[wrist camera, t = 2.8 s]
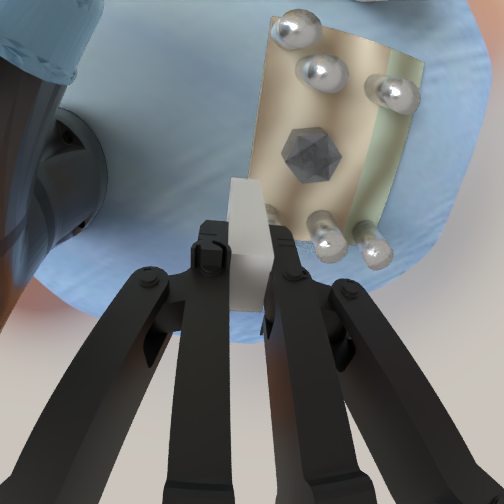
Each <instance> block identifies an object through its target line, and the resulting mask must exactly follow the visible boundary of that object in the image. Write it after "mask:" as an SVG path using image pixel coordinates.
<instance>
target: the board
mask: <svg viewBox="0 0 504 504" xmlns="http://www.w3.org/2000/svg"><path fill="white" fill-rule="evenodd" d="M280 18H281V17H275V16H273V17H272V18H271V24H270V30H269V36H268V43H267V49H266V56H265V62H264V69H263V76H262V82H261V89H260V96H259V103H258V109H257V116H256V123H255V130H254V137H253V145H252V152H251V159H250V166H249V173H248V179H256V180H260V182H261V187H262V193H263V198H264V203H265V204H270V205H272V206H274V207H275V208H276V210H277V211H278V214H279V218H280V222H281V226H286V227H287V228H288V229H289V230H290V231H291V232H292V235H293V238H294V240H299V241H311V242H312V240H311V237H310V235H309V232H308V229H307V227H306V221H307V218H308V217H309V215H310V214H311V213H313V212H315V211H317V210H326V211H328V212H330V213H331V215H332V216H333V218H334V220H335V222H336V224H337V225H338V227H339V229H340V231H341V233H342V235H343V237H344V239H345V240H346V242H347V245H356V243H355V242H354V240H353V238H352V235H351V232H352V229H353V227H354V226H355V225H356V224H357V223H358V222H360V221H362V220H370V221H372V222H373V223H374V224H375V226H376V227H377V225H378V223H379V220H380V217H381V215H382V212H383V209H384V207H385V204H386V201H387V198H388V195H389V192H390V190H391V187H392V184H393V181H394V178H395V175H396V172H397V168H398V165H399V162H400V159H401V156H402V152H403V149H404V146H405V142H406V139H407V135H408V131H409V128H410V124H411V120H412V116H413V113H414V112H413V113H411V114H408V115H403V114H400V113H398V112H395V111H393V110H391V109H388V108H386V107H383V106H381V105H378V104H376V103H373V102H371V101H370V100H369V99H368V98H367V97H366V95H365V92H364V83H365V81H366V79H367V78H368V77H369V76H370V75H372V74H383V75H388V76H393V77H398V78H403V79H408V80H410V81H412V82H413V83H414V84H415V85H416V86H417V87H418V89H419V87H420V83H421V78H422V73H423V68H424V62H422V61H420V60H418V59H416V58H413V57H411V56H409V55H407V54H404V53H402V52H399V51H397V50H395V49H392V48H390V47H387V46H384V45H382V44H379V43H376V42H373V41H371V40H368V39H365V38H362V37H359V36H356V35H352V34H349V33H346V32H342V31H339V30H335V29H332V28H328V27H324V26H322V36H321V38H320V39H319V41H318V42H317V43H315V44H314V45H312V46H309V47H304V48H299V49H295V50H284V49H281V48H279V47H278V46H277V45H275V44H274V42H273V41H272V39H271V34H270V33H271V28H272V26H273V25H274V24H275V23H276V22H277V21H278V20H279V19H280ZM319 54H332V55H335V56H337V57H339V58H340V59H342V60H343V61H344V62H345V64H346V65H347V68H348V71H349V79H348V82H347V84H346V86H345V87H344V88H343V89H342V90H340V91H338V92H336V93H325V92H322V91H319V90H316V89H314V88H311V87H308V86H305V85H303V84H302V83H301V82H300V81H299V80H298V79H297V77H296V75H295V66H296V63H297V62H298V60H299V59H301V58H302V57H304V56H307V55H319ZM312 127H320V128H322V129H323V130H324V131H325V132H326V133H328V135H329V136H330V138H331V139H332V141H333V143H334V144H335V146H336V147H337V149H338V150H339V152H340V154H341V155H342V159H341V160H340V162H339V164H338V166H337V168H336V169H335V171H334V173H333V175H332V177H331V179H330V180H329V181H324V182H315V183H306V184H301V183H300V182H299V180H298V179H297V178H296V176H295V175H294V174H293V172H292V171H291V170H290V168H289V167H288V166H287V164H286V163H285V161H284V159H283V157H282V155H281V152H282V150H283V147H284V145H285V143H286V141H287V139H288V137H289V135H290V133H291V131H292V129H300V128H312ZM356 246H357V245H356Z"/></svg>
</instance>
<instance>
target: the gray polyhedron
mask: <svg viewBox="0 0 504 504" xmlns="http://www.w3.org/2000/svg"><path fill="white" fill-rule="evenodd" d="M281 155H282V157H283V159H284V161H285V163H286V164H287V166H288V167H289V168H290V170H291V171H292V172H293V174H294V175H295V176H296V178H297V179H298V180H299V182H300V183H301V184H306V183H315V182H324V181H329V180H330V179H331V177H332V175H333V173H334V171H335V169H336V168H337V166H338V164H339V162H340V160H341V159H342V155H341V154H340V152H339V150H338V149H337V147H336V146H335V144H334V143H333V141H332V139H331V138H330V136H329V135H328V133H326V132H325V131H324V130H323V129H322V128H320V127H312V128H300V129H292V131H291V133H290V135H289V137H288V139H287V141H286V143H285V145H284V147H283V150H282V152H281Z"/></svg>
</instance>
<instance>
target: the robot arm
mask: <svg viewBox="0 0 504 504" xmlns="http://www.w3.org/2000/svg"><path fill="white" fill-rule="evenodd" d="M103 7H104V0H0V333H1V331H2V329H3V327H4V325H5V323H6V321H7V319H8V318H9V316H10V314H11V312H12V310H13V309H14V307H15V305H16V303H17V301H18V300H19V298H20V296H21V294H22V293H23V291H24V290H25V288H26V286H27V284H28V283H29V281H30V280H31V278H32V277H33V275H34V273H35V272H36V270H37V269H38V267H39V266H40V264H41V263H42V261H43V260H44V258H45V257H46V255H47V254H48V253H49V251H50V250H52V249H53V248H55V247H57V246H58V245H60V244H62V243H63V242H65V241H67V240H68V239H70V238H72V237H74V236H76V235H77V234H79V233H80V232H81V231H83V230H84V229H85V228H86V227H87V226H88V225H89V223H90V222H91V221H92V219H93V218H94V217H95V215H96V214H97V212H98V211H99V209H100V208H101V206H102V203H103V201H104V198H105V194H106V189H107V167H106V161H105V157H104V154H103V151H102V148H101V146H100V144H99V142H98V140H97V138H96V136H95V135H94V133H93V132H92V130H91V129H90V128H89V127H88V125H87V124H86V123H85V122H84V121H83V120H81V119H80V118H79V117H78V116H76V115H75V114H73V113H71V112H69V111H67V110H65V109H61V108H58V107H59V105H60V102H61V100H62V98H63V95H64V93H65V91H66V88H67V86H68V85H70V84H71V83H72V82H73V81H74V79H75V78H76V75H77V68H76V67H77V65H78V62H79V60H80V58H81V56H82V53H83V51H84V49H85V47H86V45H87V43H88V41H89V39H90V37H91V35H92V33H93V31H94V29H95V27H96V25H97V24H98V22H99V20H100V17H101V15H102V12H103ZM263 305H264V310H265V314H264V318H263V322H262V326H261V330H260V335H263V332H264V342H265V353H266V363H267V375H268V386H269V397H270V408H271V420H272V431H273V442H274V453H275V465H276V477H277V496H276V503H275V504H377V500H376V494H375V489H374V486H373V482H372V480H371V479H370V477H369V476H368V475H367V474H365V473H364V472H362V471H361V470H360V468H359V466H358V463H357V459H356V454H355V449H354V444H353V439H352V434H351V430H350V425H349V421H348V416H347V412H346V407H345V403H346V405H347V407H348V409H349V411H350V412H351V415H352V417H353V419H354V421H355V423H356V425H357V426H358V429H359V430H360V433H361V435H362V436H363V439H364V440H365V443H366V445H367V447H368V449H369V451H370V453H371V455H372V457H373V459H374V461H375V463H376V465H377V467H378V469H379V471H380V473H381V475H382V477H383V479H384V481H385V483H386V485H387V487H388V489H389V491H390V494H391V495H392V497H393V499H394V500H395V502H396V504H504V488H503V487H502V486H500V485H499V484H498V483H497V482H496V481H495V480H494V479H493V478H492V477H490V476H489V475H488V474H487V473H486V472H485V471H484V470H483V469H482V468H481V467H479V466H478V465H477V464H476V462H475V460H474V458H473V456H472V455H471V453H470V451H469V449H468V448H467V445H466V444H465V442H464V440H463V438H462V436H461V435H460V433H459V431H458V429H457V428H456V426H455V424H454V422H453V421H452V419H451V417H450V416H449V414H448V413H447V411H446V409H445V407H444V406H443V404H442V402H441V401H440V399H439V397H438V396H437V394H436V393H435V391H434V389H433V388H432V386H431V385H430V383H429V382H428V380H427V378H426V377H425V375H424V374H423V372H422V371H421V369H420V368H419V366H418V365H417V363H416V361H415V360H414V359H413V357H412V355H411V354H410V352H409V351H408V349H407V348H406V346H405V345H404V344H403V342H402V341H401V339H400V338H399V336H398V335H397V333H396V332H395V331H394V329H393V328H392V326H391V325H390V323H389V322H388V321H387V319H386V318H385V317H384V315H383V314H382V312H381V311H380V309H379V308H378V307H377V305H376V304H375V303H374V301H373V300H372V299H371V297H370V296H369V295H368V293H367V292H366V290H365V289H364V288H363V287H362V286H361V285H360V284H359V283H357V282H355V281H353V280H350V279H338V280H336V281H335V282H334V283H333V285H332V286H329V285H326V284H322V283H319V282H316V281H314V280H312V278H311V275H310V274H309V272H308V271H307V270H306V269H305V268H304V267H302V266H301V263H300V259H299V256H298V252H297V249H296V245H295V242H294V238H293V235H292V232H291V231H290V230H289V229H288V228H287V227H286V226H281V225H270V224H268V219H267V214H266V209H265V203H264V198H263V193H262V187H261V182H260V180H256V179H246V178H235V177H231V185H230V194H229V204H228V214H227V222H225V221H212V220H206V221H205V222H204V223H203V224H202V225H201V226H200V230H199V236H198V241H197V242H195V243H194V244H193V245H192V247H191V268H190V269H188V270H187V271H185V272H183V273H180V274H176V275H169V276H168V274H167V273H166V272H165V271H164V270H163V269H160V268H158V267H152V266H149V267H143V268H140V269H138V270H136V271H135V272H134V273H133V274H132V275H131V276H130V277H129V279H128V280H127V282H126V283H125V284H124V286H123V287H122V288H121V290H120V291H119V292H118V294H117V295H116V297H115V298H114V299H113V301H112V302H111V304H110V305H109V306H108V308H107V309H106V311H105V312H104V314H103V315H102V317H101V318H100V319H99V321H98V322H97V324H96V325H95V327H94V328H93V330H92V332H91V333H90V334H89V336H88V337H87V339H86V340H85V342H84V344H83V345H82V346H81V348H80V350H79V351H78V353H77V354H76V356H75V357H74V359H73V361H72V362H71V364H70V366H69V367H68V369H67V370H66V372H65V374H64V375H63V377H62V378H61V380H60V382H59V384H58V385H57V387H56V389H55V390H54V392H53V394H52V395H51V397H50V399H49V401H48V403H47V404H46V406H45V408H44V410H43V411H42V413H41V415H40V417H39V419H38V421H37V423H36V424H35V426H34V428H33V430H32V432H31V434H30V436H29V438H28V440H27V442H26V444H25V446H24V448H23V450H22V452H21V454H20V456H19V459H18V461H17V463H16V465H15V467H14V469H13V472H12V474H11V476H10V477H8V478H7V479H6V480H5V481H4V482H3V483H2V484H1V485H0V504H98V503H99V501H100V498H101V496H102V493H103V491H104V488H105V486H106V483H107V481H108V478H109V476H110V473H111V471H112V468H113V466H114V464H115V461H116V459H117V456H118V454H119V452H120V449H121V447H122V445H123V442H124V440H125V437H126V435H127V433H128V431H129V428H130V426H131V424H132V421H133V419H134V417H135V415H136V412H137V410H138V408H139V406H140V403H141V401H142V399H143V397H144V394H145V392H146V390H147V388H148V385H149V383H150V381H151V379H152V377H153V374H154V373H155V370H156V368H157V366H158V364H159V362H160V360H161V357H162V355H163V353H164V351H165V349H166V347H167V345H168V343H169V340H170V338H171V336H172V334H173V332H175V331H181V336H180V343H179V351H178V359H177V368H176V376H175V385H174V395H173V405H172V416H171V428H170V441H169V455H168V472H167V480H166V483H165V486H164V491H163V502H162V504H235V497H234V490H233V485H232V469H231V432H230V368H229V367H230V363H229V362H230V360H229V359H230V358H229V311H246V312H262V310H263ZM344 401H345V403H344Z"/></svg>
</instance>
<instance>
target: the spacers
mask: <svg viewBox="0 0 504 504" xmlns="http://www.w3.org/2000/svg"><path fill="white" fill-rule="evenodd" d="M270 34H271V39H272V41H273V42H274V44H275V45H277V46H278V47H279V48H281V49H284V50H295V49H299V48H304V47H309V46H312V45H314V44H315V43H317V42H318V41H319V39H320V38H321V36H322V24H321V22H320V20H319V19H318V18H317V16H315V15H314V14H313V13H311V12H309V11H307V10H303V9H295V10H291V11H289V12H287V13H285V14H284V15H283V16H282V17H281V18H280V19H279V20H278V21H277V22H276V23H275V24H274V25H273V26H272V28H271V33H270ZM295 75H296V77H297V79H298V80H299V81H300V82H301V83H302V84H303V85H305V86H308V87H311V88H314V89H316V90H319V91H322V92H325V93H336V92H338V91H340V90H342V89H343V88H344V87H345V86H346V84H347V82H348V79H349V71H348V68H347V65H346V64H345V62H344V61H343V60H342V59H340V58H339V57H337V56H335V55H332V54H319V55H307V56H304V57H302V58H301V59H299V60H298V62H297V63H296V66H295ZM364 92H365V95H366V97H367V98H368V99H369V100H370V101H371V102H373V103H376V104H378V105H381V106H383V107H386V108H388V109H391V110H393V111H395V112H398V113H400V114H403V115H408V114H411V113H413V112H415V111H416V110H417V108H418V106H419V104H420V92H419V89H418V87H417V86H416V85H415V84H414V83H413V82H412V81H410V80H408V79H403V78H398V77H393V76H388V75H383V74H372V75H370V76H369V77H368V78H367V79H366V81H365V83H364ZM265 209H266V214H267V219H268V224H270V225H281V222H280V218H279V214H278V211H277V210H276V208H275V207H274V206H272V205H270V204H265ZM306 227H307V229H308V232H309V235H310V237H311V240H312V243H313V245H314V248H315V251H316V253H317V256H318V258H319V259H320V260H321V261H322V262H324V263H335V262H338V261H339V260H341V259H342V258H343V257H344V256H345V255H346V253H347V251H348V245H347V242H346V240H345V239H344V237H343V235H342V233H341V231H340V229H339V227H338V225H337V224H336V222H335V220H334V218H333V216H332V215H331V213H330V212H328V211H326V210H317V211H315V212H313V213H311V214H310V215H309V217H308V218H307V221H306ZM351 235H352V238H353V240H354V242H355V243H356V245H357V247H358V249H359V251H360V252H361V254H362V256H363V258H364V260H365V262H366V264H367V265H368V267H369V268H370V269H372V270H381V269H383V268H385V267H386V266H388V265H389V264H390V263H391V261H392V259H393V251H392V249H391V247H390V246H389V244H388V243H387V242H386V240H385V239H384V237H383V236H382V234H381V233H380V231H379V230H378V228H377V227H376V226H375V224H374V223H373V222H372V221H370V220H362V221H360V222H358V223H357V224H356V225H355V226H354V227H353V229H352V232H351Z"/></svg>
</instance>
